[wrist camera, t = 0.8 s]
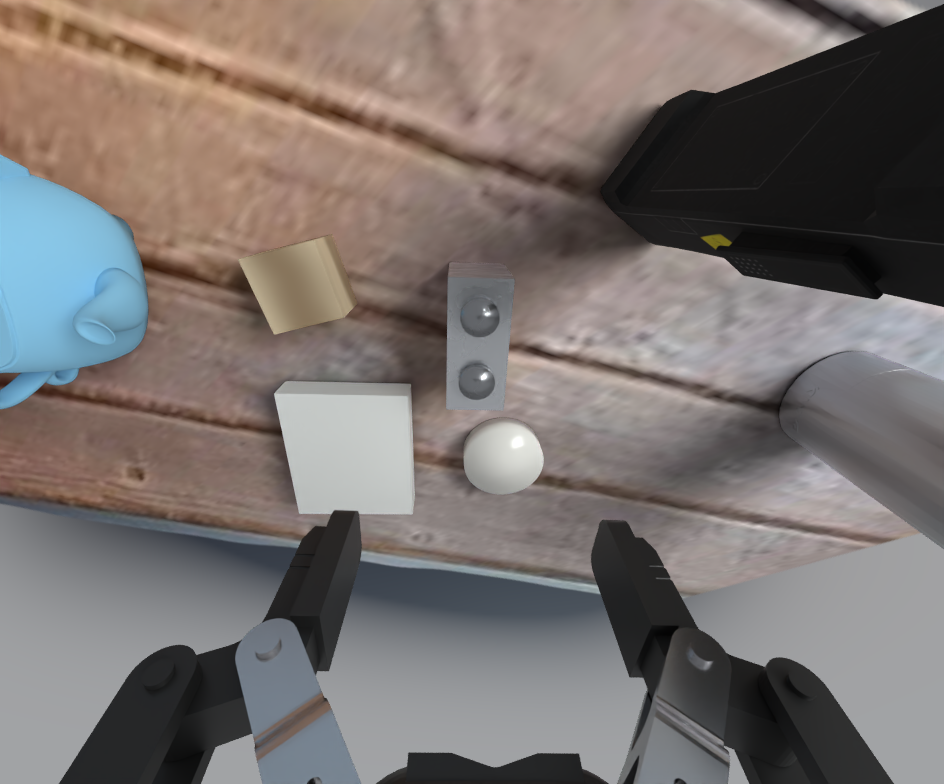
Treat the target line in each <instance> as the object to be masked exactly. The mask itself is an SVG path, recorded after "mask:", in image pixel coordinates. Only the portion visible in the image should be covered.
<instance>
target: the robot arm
mask: <svg viewBox="0 0 944 784" xmlns="http://www.w3.org/2000/svg"><path fill="white" fill-rule="evenodd" d="M779 419H780V425H781V427H782V429H783V431H784V432H785V433H786V434H787V435H788V436H789V437H790V438H792V439H793V440H794V441H796V442H797V443H798V444H800V445H801V446H802V447H804V448H805V449H807V450H808V451H809V452H811V453H812V454H813V455H815V456H816V457H818V458H819V459H820V460H822V461H823V462H824V463H825V464H827V465H828V466H830V467H831V468H832V469H834V470H835V471H837V472H838V473H839V474H841V475H842V476H843V477H845V478H846V479H848V480H849V481H850V482H852V483H853V484H854V485H856V486H857V487H859V488H860V489H861V490H863V491H864V492H865V493H867V494H868V495H870V496H871V497H872V498H874V499H875V500H876V501H878V502H879V503H881V504H882V505H883V506H885V507H886V508H888V509H889V510H890V511H892V512H893V513H894V514H896V515H897V516H899V517H900V518H901V519H903V520H904V521H905V522H907V523H908V524H910V525H911V526H912V527H914V528H915V529H916V530H918V531H919V532H921V533H922V534H923V535H925V536H926V537H928V538H929V539H930V540H932V541H933V542H934V543H936V544H937V545H939V546H940V547H941V548H943V549H944V381H942V380H940V379H937V378H934V377H932V376H929V375H927V374H924V373H922V372H919V371H917V370H914V369H911V368H909V367H906V366H904V365H901V364H898V363H896V362H893V361H890V360H888V359H885V358H883V357H880V356H877V355H875V354H871V353H868V352H864V351H850V352H844V353H839V354H836V355H833V356H830V357H828V358H826V359H824V360H822V361H820V362H818V363H816V364H815V365H813V366H812V367H810V368H809V369H808V370H806V371H805V372H804V373H803V374H802V375H801V376H800V377H798V378H797V379H796V380H795V382H794V383H793V384H792V385H791V387H790V388H789V389H788V391H787V393H786V395H785V396H784V398H783V401H782V404H781V407H780V413H779ZM361 548H362V544H361V532H360V520H359V512H358V511H351V510H334V511H333V513H332V515H331V517H330V519H329V522H328V524H327V527H321V526H315V527H314V528H313V529H312V530H311V531H310V532H309V533H308V534H307V535H306V536H305V537H304V538H303V539H302V541H301V543H300V545H299V547H298V549H297V552H296V554H295V557H294V558H293V560H292V562H291V564H290V568H289V569H288V571H287V573H286V575H285V577H284V579H283V581H282V583H281V585H280V588H279V590H278V592H277V594H276V596H275V598H274V600H273V602H272V605H271V607H270V609H269V611H268V613H267V615H266V617H265V619H264V620H263V622H262V623H260V624H259V625H257V626H256V627H254V628H253V629H252V630H250V631H249V632H248V633H247V634H246V635H245V637H244V638H243V639H242V640H241V641H239V642H237V643H235V644H232V645H229V646H226V647H223V648H219V649H216V650H213V651H209V652H206V653H203V654H199V655H196V654H195V652H194V650H193V649H191V648H190V647H188V646H185V645H175V646H169V647H166V648H163V649H161V650H159V651H157V652H155V653H153V654H151V655H150V656H148V657H147V658H146V659H144V660H143V661H142V662H141V663H139V665H137V666H136V667H135V668H134V670H133V671H132V672H131V673H130V674H129V676H128V677H127V679H126V680H125V682H124V684H123V685H122V687H121V688H120V690H119V691H118V693H117V694H116V696H115V697H114V699H113V700H112V702H111V704H110V705H109V707H108V708H107V710H106V711H105V713H104V714H103V716H102V718H101V719H100V721H99V722H98V724H97V725H96V727H95V728H94V730H93V732H92V733H91V735H90V736H89V738H88V739H87V741H86V743H85V744H84V746H83V747H82V749H81V750H80V752H79V753H78V755H77V756H76V758H75V760H74V761H73V763H72V765H71V766H70V767H69V769H68V771H67V772H66V774H65V775H64V777H63V778H62V780H61V781H60V783H59V784H201V782H202V779H203V777H204V774H205V772H206V769H207V767H208V764H209V762H210V759H211V756H212V754H213V752H214V749H215V747H217V746H219V745H222V744H225V743H228V742H230V741H233V740H236V739H239V738H241V737H244V736H246V735H249V734H253V738H254V742H255V753H256V758H257V763H258V767H259V772H260V776H261V780H262V784H361V782H360V779H359V777H358V774H357V772H356V769H355V767H354V764H353V762H352V759H351V757H350V754H349V752H348V749H347V747H346V744H345V741H344V739H343V737H342V734H341V731H340V729H339V726H338V724H337V721H336V719H335V716H334V714H333V711H332V709H331V707H330V704H329V702H328V700H327V699H326V698H324V696H323V693H322V691H321V689H320V686H319V683H318V681H317V679H316V673H317V671H329V669H330V665H331V662H332V658H333V655H334V651H335V648H336V644H337V641H338V637H339V634H340V630H341V627H342V623H343V620H344V616H345V613H346V609H347V605H348V602H349V598H350V595H351V591H352V588H353V584H354V581H355V577H356V574H357V570H358V567H359V563H360V558H361ZM591 563H592V569H593V573H594V576H595V579H596V582H597V585H598V587H599V590H600V593H601V596H602V599H603V602H604V605H605V608H606V610H607V613H608V616H609V619H610V622H611V625H612V628H613V631H614V634H615V636H616V639H617V642H618V645H619V648H620V651H621V654H622V657H623V660H624V662H625V665H626V668H627V671H628V674H629V677H642V678H644V680H645V683H646V685H647V688H648V689H647V691H646V693H645V696H644V700H643V703H642V707H641V710H640V714H639V717H638V720H637V724H636V727H635V731H634V734H633V738H632V741H631V744H630V748H629V751H628V755H627V758H626V761H625V764H624V766H623V769H622V772H621V774H620V777H619V780H618V783H617V784H728V777H729V766H730V756H729V752H728V751H727V750H726V749H725V748H724V746H727V747H729V748H732V749H734V750H735V752H736V755H737V757H738V759H739V761H740V763H741V766H742V768H743V770H744V773H745V775H746V777H747V779H748V781H749V784H894V783H893V782H892V780H891V779H890V777H889V776H888V775H887V773H886V772H885V770H884V769H883V767H882V766H881V764H880V763H879V762H878V760H877V759H876V757H875V756H874V754H873V753H872V752H871V750H870V749H869V747H868V746H867V744H866V743H865V741H864V740H863V739H862V737H861V736H860V734H859V733H858V731H857V730H856V728H855V727H854V725H853V724H852V723H851V721H850V720H849V718H848V717H847V715H846V714H845V712H844V711H843V709H842V708H841V707H840V705H839V704H838V702H837V701H836V699H835V698H834V696H833V695H832V694H831V692H830V691H829V689H828V688H827V687H826V685H825V684H824V683H823V682H822V681H821V680H820V679H819V678H818V677H817V676H816V675H815V674H814V673H813V672H811V671H810V670H809V669H807V668H806V667H804V666H803V665H801V664H799V663H797V662H795V661H792V660H790V659H787V658H773V659H771V660H770V661H769V662H768V663H767V665H766V667H763V666H760V665H757V664H754V663H752V662H748V661H745V660H743V659H739V658H737V657H734V656H731V655H729V654H727V653H726V652H725V651H724V649H723V648H722V647H721V646H720V645H719V643H718V642H716V641H715V639H713V638H712V637H711V636H709V635H708V634H706V633H705V632H703V631H701V630H699V629H698V627H697V626H696V624H695V622H694V620H693V618H692V616H691V615H690V613H689V611H688V609H687V607H686V605H685V604H684V602H683V600H682V598H681V596H680V594H679V592H678V591H677V589H676V587H675V585H674V583H673V581H671V580H670V576H669V574H668V572H667V570H666V569H665V568H664V565H663V563H662V561H661V559H660V558H659V556H658V554H657V552H656V550H655V549H654V548H653V547H652V546H651V545H649V544H648V543H647V542H646V541H645V540H644V539H643V538H635V536H634V534H633V532H632V530H631V528H630V526H629V525H628V523H627V522H626V521H620V520H602V521H601V522H600V524H599V528H598V532H597V535H596V539H595V542H594V546H593V549H592V554H591ZM376 784H608V783H607V782H606V781H604V780H603V779H601V778H600V777H598V776H597V775H595V774H593V773H591V772H589V771H587V770H584V769H582V767H581V762H580V757H579V754H551V753H550V754H549V753H548V754H547V753H544V754H543V753H540V754H539V753H538V754H535V755H532V756H529V757H526V758H523V759H521V760H518V761H515V762H512V763H509V764H507V765H504V766H501V767H495V768H494V767H490V766H487V765H484V764H481V763H478V762H475V761H473V760H470V759H467V758H464V757H461V756H458V755H456V754H453V753H408V763H407V767H405V768H402V769H399V770H397V771H395V772H393V773H391V774H390V775H387V776H386V777H385V778H383V779H382V780H380V781H379V782H378V783H376Z"/></svg>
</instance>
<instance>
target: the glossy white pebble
mask: <svg viewBox="0 0 944 784" xmlns="http://www.w3.org/2000/svg"><path fill="white" fill-rule="evenodd" d="M543 461H544V459H543V453H542V450H541V447H540V444H539V441H538V438H537V436H536V434H535V432H534V431H533V430H532V429H531V428H530V427H529V426H528V425H527V424H525V423H524V422H522V421H519V420H516V419H512V418H494V419H491V420H488V421H485V422H483V423H481V424H479V425H478V426H477V427H475V428H474V429H473V430H472V431H471V432H470V434H469V435H468V437H467V439H466V441H465V444H464V470H465V473H466V476H467V477H468V479H469V480H470V482H471V483H472V484H473V485H474V486H476V487H477V488H479V489H480V490H482V491H485V492H487V493H491V494H499V495H503V494H511V493H515V492H518V491H521V490H523V489H525V488H527V487H528V486H530V485H531V484H532V483H533V482H534V481H535V480H536V479H537V478H538V476H539V474H540V473H541V470H542V468H543Z"/></svg>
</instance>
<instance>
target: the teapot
mask: <svg viewBox="0 0 944 784" xmlns="http://www.w3.org/2000/svg"><path fill="white" fill-rule="evenodd" d="M147 323H148V295H147V286H146V280H145V275H144V270H143V267H142V263H141V259H140V255H139V253H138V250H137V247H136V245H135V242H134V236H133V232H132V230H131V228H130V227H129V225H128V224H127V223H126V222H125V221H124V220H123V219H121V218H120V217H118V216H115V215H111V214H110V213H108V212H107V211H106V210H105V209H103V208H102V207H100V206H99V205H97V204H95V203H94V202H92V201H90V200H88V199H87V198H85V197H83V196H82V195H80V194H77V193H75V192H73V191H71V190H69V189H67V188H65V187H63V186H60V185H58V184H56V183H53V182H51V181H48V180H45V179H42V178H40V177H37V176H34V175H31V174H30V173H29V171H28V169H27V168H25V167H23V166H22V165H20V164H18V163H16V162H14V161H12V160H10V159H8V158H6V157H4V156H2V155H0V373H21V374H20V375H18V376H17V377H16V378H15V379H14V380H13V381H12V382H10V383H9V384H8V385H7V386H6V387H4V388H3V389H1V390H0V409H5V408H9V407H12V406H15V405H17V404H19V403H21V402H22V401H24V400H25V399H27V398H28V397H29V396H31V395H32V394H33V393H34V392H35V391H37V390H38V389H39V388H40V387H41V386H42V385H43V384H44V383H45V382H46V383H48V384H51V385H64V384H68V383H70V382H72V381H73V380H75V378H76V377H77V375H78V372H79V368H81V367H86V366H91V365H95V364H99V363H103V362H107V361H110V360H114V359H116V358H118V357H120V356H123V355H125V354H127V353H130V352H131V351H132V350H134V349H135V348H136V347H137V346H138V345H139V344H140V342H141V341H142V339H143V337H144V334H145V331H146V328H147Z"/></svg>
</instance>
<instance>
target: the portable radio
mask: <svg viewBox="0 0 944 784" xmlns="http://www.w3.org/2000/svg"><path fill="white" fill-rule="evenodd" d="M600 192H601V194H602V196H603V198H604V200H605V202H606V204H607V205H608V206H609V207H610V208H611V209H612V210H613V212H614V213H615V214H617V215H618V216H619V217H620V218H621V219H622V220H624V221H625V222H626V223H627V224H628V225H630V226H631V227H632V228H633V229H634V230H635V231H637V232H638V233H639V234H640V235H641V236H643V237H644V238H645V239H646V240H647V241H648V242H650V243H652V244H655V245H660V246H667V247H673V248H679V249H684V250H689V251H694V252H699V253H704V254H708V255H713V256H717V257H722V258H725V259H726V260H727V261H728V262H729V263H730V264H731V265H732V266H734V267H735V268H736V269H737V270H738V271H739V272H740V273H741V274H742V275H744V276H749V277H755V278H760V279H766V280H771V281H777V282H782V283H788V284H793V285H799V286H805V287H810V288H816V289H821V290H827V291H832V292H838V293H843V294H849V295H854V296H860V297H865V298H871V299H879V298H880V297H881V296H882V295H883V293H884V294H888V295H893V296H897V297H902V298H906V299H911V300H915V301H919V302H924V303H928V304H933V305H937V306H942V307H944V4H943V5H941V6H938V7H935V8H933V9H930V10H928V11H925V12H923V13H920V14H917V15H915V16H912V17H910V18H907V19H905V20H902V21H900V22H897V23H895V24H892V25H889V26H887V27H884V28H882V29H879V30H877V31H874V32H872V33H869V34H867V35H864V36H861V37H859V38H856V39H854V40H851V41H849V42H846V43H844V44H841V45H839V46H836V47H834V48H831V49H828V50H826V51H823V52H821V53H818V54H816V55H813V56H811V57H808V58H806V59H803V60H800V61H798V62H795V63H793V64H790V65H788V66H785V67H783V68H780V69H778V70H775V71H773V72H770V73H767V74H765V75H762V76H760V77H757V78H755V79H752V80H750V81H747V82H745V83H742V84H739V85H737V86H734V87H731V88H728V89H726V90H723V91H720V92H718V93H709V92H703V91H696V90H690V91H688V92H685V93H683V94H681V95H679V96H676V97H674V98H672V99H670V100H669V101H667V102H666V103H665V104H664V105H663V106H662V107H661V108H660V110H659V111H658V112H657V114H656V115H655V116H654V118H653V119H652V121H651V122H650V123H649V125H648V126H647V127H646V129H645V130H644V131H643V133H642V134H641V135H640V137H639V138H638V139H637V141H636V142H635V144H634V145H633V146H632V148H631V149H630V150H629V152H628V153H627V154H626V156H625V157H624V158H623V160H622V161H621V162H620V164H619V165H618V166H617V168H616V169H615V171H614V172H613V173H612V175H611V176H610V177H609V179H608V180H607V181H606V183H605V184H604V185H603V187H602V189H601V190H600Z"/></svg>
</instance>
